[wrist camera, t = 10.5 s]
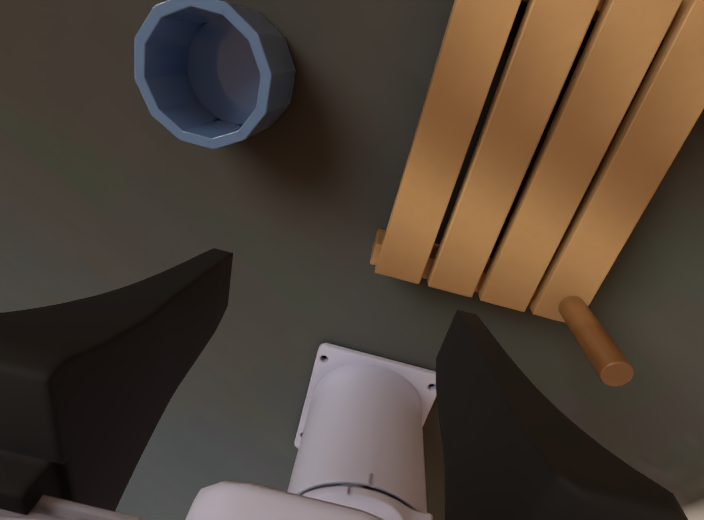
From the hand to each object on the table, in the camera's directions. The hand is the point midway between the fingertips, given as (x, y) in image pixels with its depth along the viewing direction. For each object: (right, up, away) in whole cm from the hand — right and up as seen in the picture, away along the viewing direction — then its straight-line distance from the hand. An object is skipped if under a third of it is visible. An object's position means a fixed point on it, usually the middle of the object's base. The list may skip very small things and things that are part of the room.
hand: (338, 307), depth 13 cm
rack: (+9, +7, +7) cm, 13 cm away
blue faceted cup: (-5, +11, +7) cm, 14 cm away
